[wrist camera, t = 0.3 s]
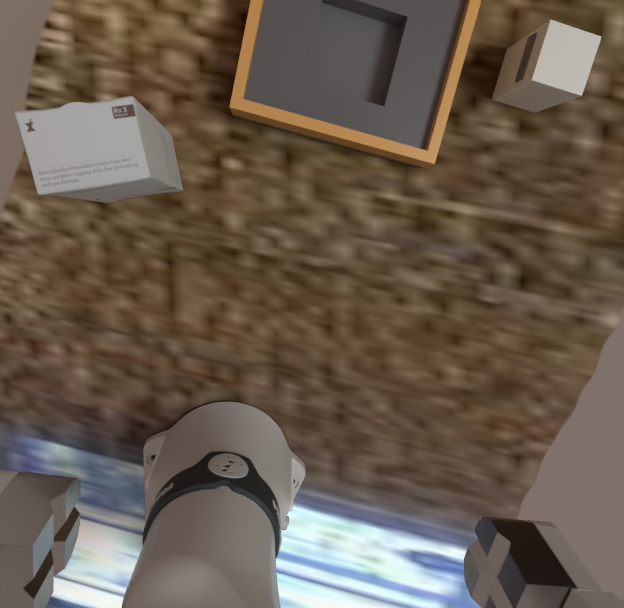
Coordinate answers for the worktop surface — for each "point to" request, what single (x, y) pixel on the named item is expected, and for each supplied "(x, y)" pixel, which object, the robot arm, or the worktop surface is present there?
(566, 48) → the plate
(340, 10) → the equipment case
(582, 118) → the worktop surface
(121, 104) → the skincare box
